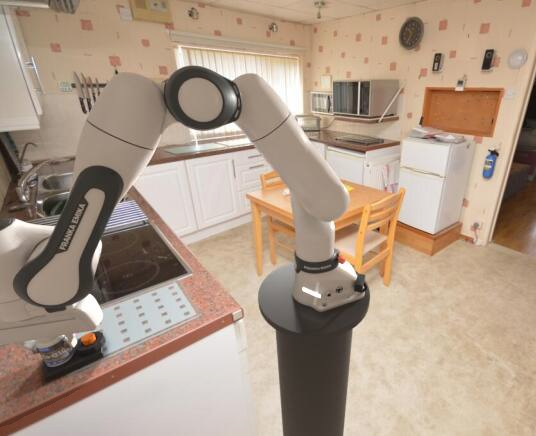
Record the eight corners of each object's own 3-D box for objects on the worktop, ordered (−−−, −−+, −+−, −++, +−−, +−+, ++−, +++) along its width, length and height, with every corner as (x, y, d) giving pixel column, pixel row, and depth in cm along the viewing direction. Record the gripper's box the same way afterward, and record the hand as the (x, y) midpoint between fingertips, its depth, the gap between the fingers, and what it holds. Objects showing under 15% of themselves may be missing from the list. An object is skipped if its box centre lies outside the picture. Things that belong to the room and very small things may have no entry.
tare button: (95, 335, 68) (93, 330, 67) (96, 342, 66) (94, 337, 66) (82, 340, 67) (80, 336, 66) (83, 347, 65) (81, 342, 64)
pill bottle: (45, 371, 61) (28, 343, 57) (47, 355, 64) (31, 328, 61) (74, 360, 64) (59, 332, 60) (75, 345, 67) (61, 318, 63)
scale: (105, 333, 72) (101, 325, 70) (109, 354, 67) (105, 345, 65) (46, 358, 65) (41, 348, 64) (45, 382, 60) (39, 373, 59)
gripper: (-56, 320, 51) (-17, 372, 57) (80, 301, 56) (102, 351, 62) (-27, 296, 57) (6, 346, 63) (94, 281, 62) (114, 328, 68)
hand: (55, 348), depth 63 cm, fingers closed on pill bottle, 5 cm apart
